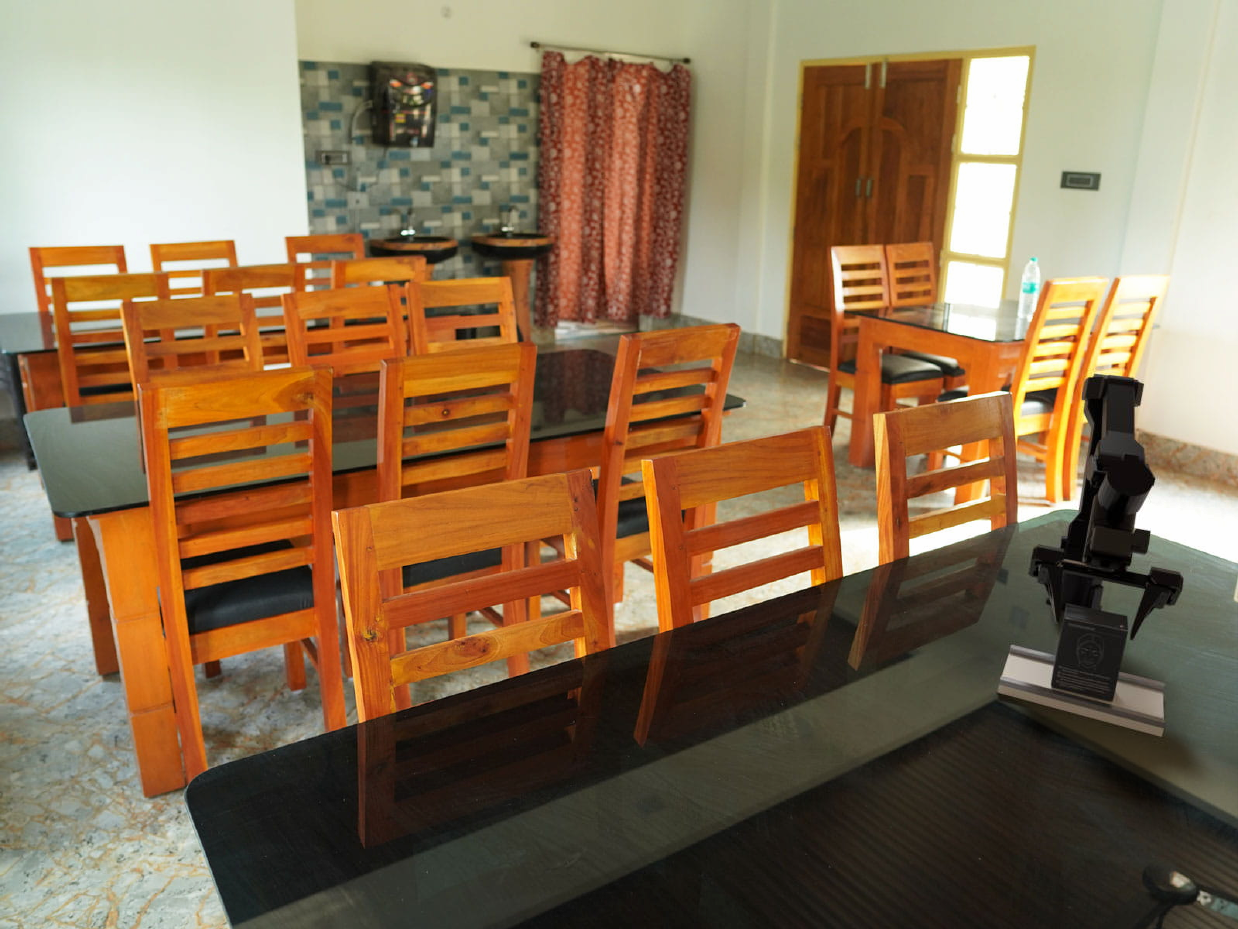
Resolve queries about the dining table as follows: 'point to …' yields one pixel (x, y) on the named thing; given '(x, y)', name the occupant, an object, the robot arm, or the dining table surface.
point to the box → (1089, 651)
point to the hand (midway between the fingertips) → (1093, 630)
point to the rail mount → (1129, 708)
